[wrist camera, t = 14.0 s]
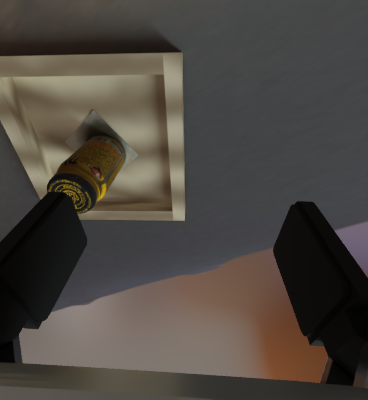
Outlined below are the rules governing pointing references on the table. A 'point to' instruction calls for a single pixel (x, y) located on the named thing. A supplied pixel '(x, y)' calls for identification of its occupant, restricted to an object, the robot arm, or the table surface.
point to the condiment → (91, 163)
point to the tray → (112, 114)
